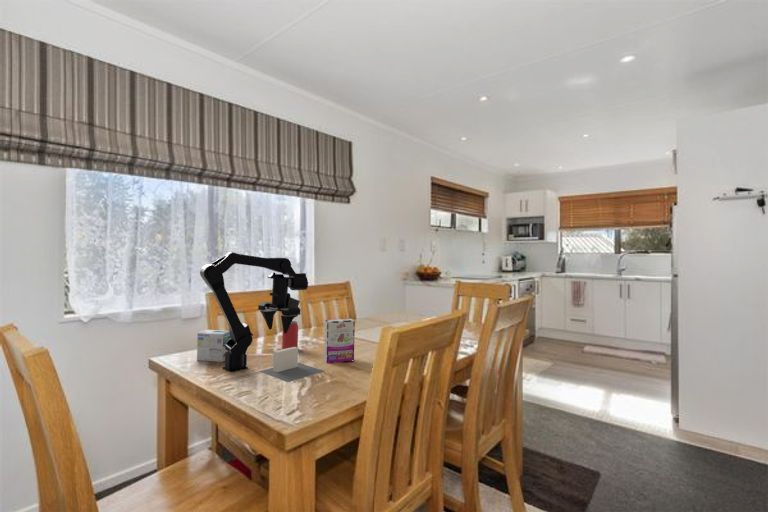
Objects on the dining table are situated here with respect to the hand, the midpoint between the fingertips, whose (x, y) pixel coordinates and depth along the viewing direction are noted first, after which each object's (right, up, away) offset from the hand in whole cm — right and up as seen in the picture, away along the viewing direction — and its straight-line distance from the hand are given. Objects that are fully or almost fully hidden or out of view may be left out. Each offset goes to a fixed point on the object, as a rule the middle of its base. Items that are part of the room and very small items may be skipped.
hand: (277, 331), depth 145 cm
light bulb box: (-25, -12, +2) cm, 28 cm away
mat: (+8, -12, -10) cm, 18 cm away
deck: (+5, -12, -8) cm, 15 cm away
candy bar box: (+23, -13, +5) cm, 27 cm away
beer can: (0, -12, +19) cm, 23 cm away
